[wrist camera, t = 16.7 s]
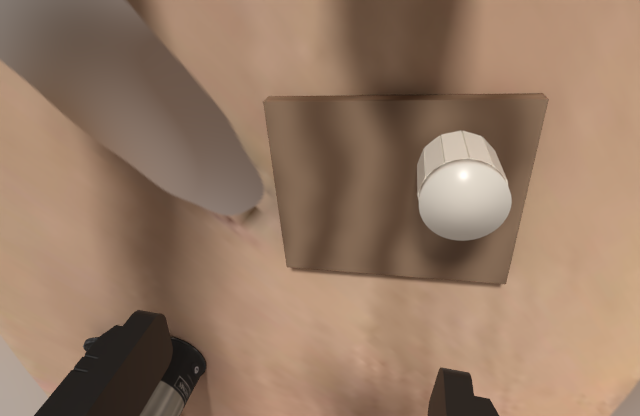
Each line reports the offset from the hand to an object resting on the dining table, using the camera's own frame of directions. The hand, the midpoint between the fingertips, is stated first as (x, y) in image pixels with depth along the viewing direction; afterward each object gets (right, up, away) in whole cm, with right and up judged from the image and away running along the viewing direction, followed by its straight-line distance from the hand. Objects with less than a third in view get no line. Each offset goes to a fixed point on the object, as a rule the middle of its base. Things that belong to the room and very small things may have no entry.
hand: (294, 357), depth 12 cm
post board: (+8, +6, +26) cm, 28 cm away
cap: (+12, +8, +21) cm, 25 cm away
